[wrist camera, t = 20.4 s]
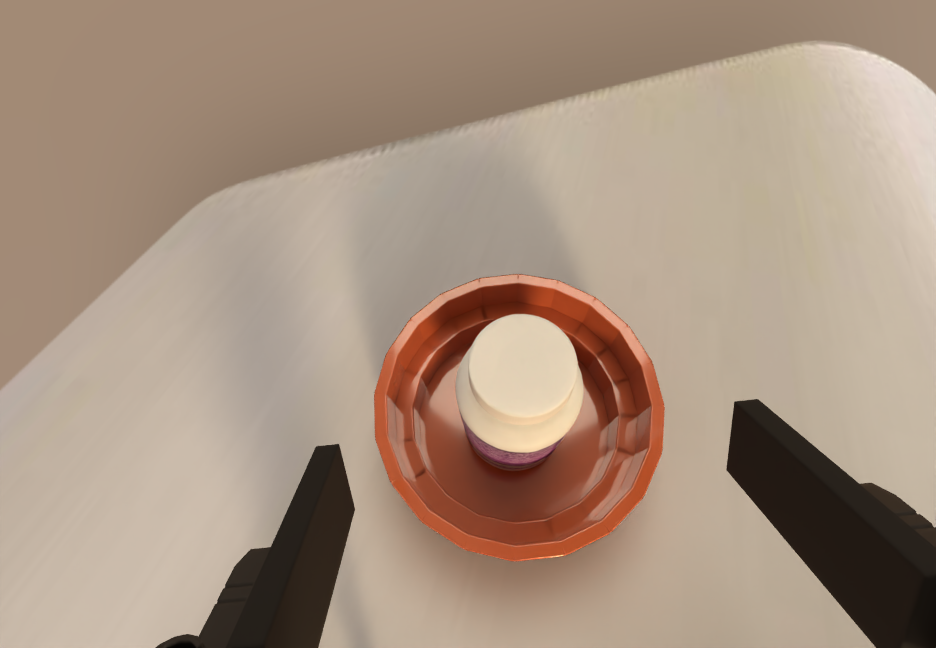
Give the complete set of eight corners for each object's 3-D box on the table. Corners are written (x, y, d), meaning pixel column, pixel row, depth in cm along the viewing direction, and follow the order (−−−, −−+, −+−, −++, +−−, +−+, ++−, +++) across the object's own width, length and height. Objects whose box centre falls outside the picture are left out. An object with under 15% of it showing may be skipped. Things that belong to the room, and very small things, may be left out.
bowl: (603, 303, 29) (625, 261, 24) (661, 538, 23) (702, 541, 19) (391, 327, 29) (371, 290, 24) (400, 567, 23) (377, 576, 19)
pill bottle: (574, 461, 24) (619, 423, 16) (474, 481, 24) (463, 454, 16) (548, 365, 27) (575, 284, 18) (456, 383, 27) (438, 310, 18)
